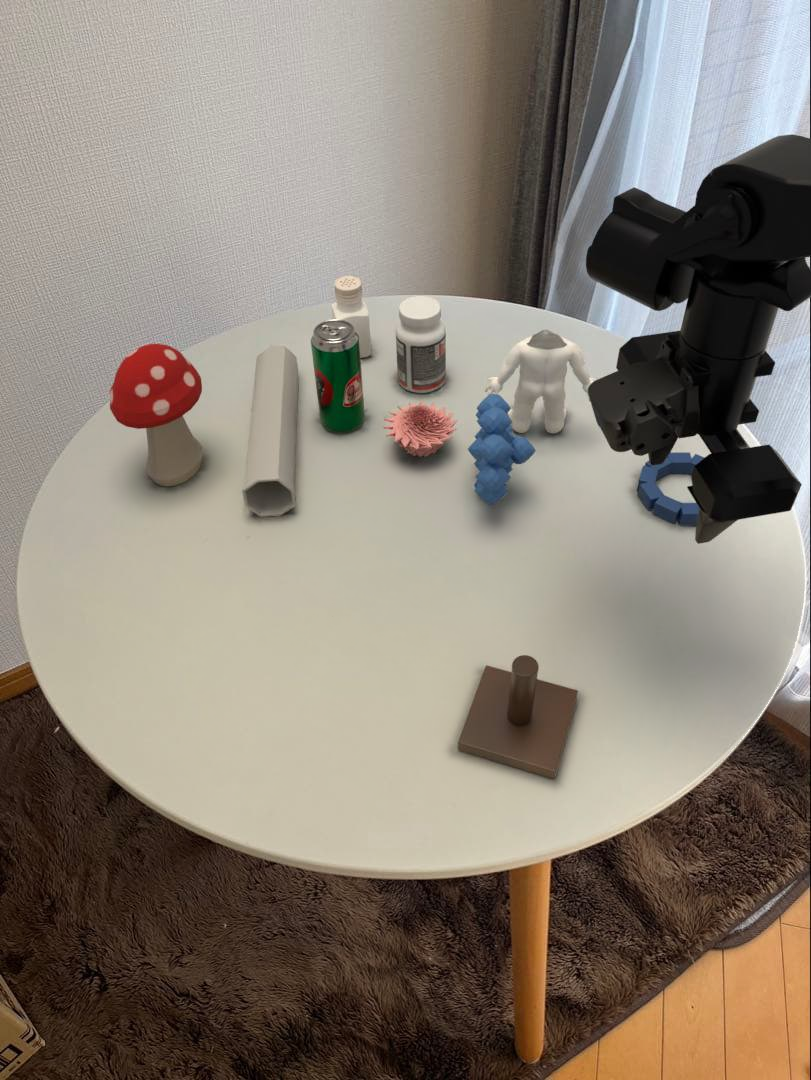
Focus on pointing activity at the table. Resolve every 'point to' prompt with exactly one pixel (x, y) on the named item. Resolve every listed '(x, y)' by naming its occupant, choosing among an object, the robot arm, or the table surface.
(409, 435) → the flower
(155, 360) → the decorative mushroom
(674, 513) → the ring
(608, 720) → the table surface
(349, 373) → the soda can
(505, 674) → the post
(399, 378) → the pill bottle
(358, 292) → the pepper shaker
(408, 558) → the table surface
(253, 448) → the tube
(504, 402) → the grapes
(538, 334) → the toy creature
